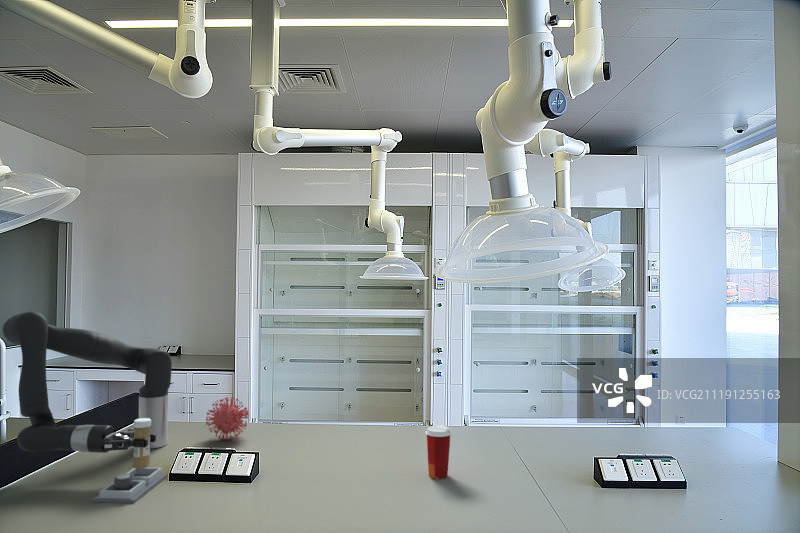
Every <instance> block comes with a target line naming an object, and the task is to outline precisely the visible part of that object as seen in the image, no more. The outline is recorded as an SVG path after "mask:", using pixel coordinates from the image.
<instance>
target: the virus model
mask: <svg viewBox="0 0 800 533" xmlns="http://www.w3.org/2000/svg"><path fill="white" fill-rule="evenodd" d="M234 400H235V402H234ZM229 401H230V403H229ZM219 402H220V403H219ZM238 402H239V403H238ZM237 404H238V405H237ZM211 406H212V409H210V410H209V408H208V410H207V411H208V412H206V415H207V416H206V418H205V421H206V422H205V425H206V426H207V427H209V428H208V431H209V432H210V433H212V432H214V433H215V435H214V436H215V437H216V438H217V439H220V440H228V439H227V438H228V436H229V440H232V439H233V435H231V434H232V433H234V436H235V437H236V438H237V437H238V436H239V435H241V433H244V430H246V428H247V426H248V424H247V423H248V421H247V420H248V419H249V416H250V415H249V410H248V408H247V406H245V407H244V404H243V402H242V401H240V400H239V399H238V398H236V399H235V397H230V399H229V397H227V396H226V397H224V398H222V399H218V400H216V401H214V402H213V403H212V405H211ZM243 407H244V408H243ZM241 408H243V409H241ZM243 419H246V421H245V420H243ZM212 425H213V426H212ZM210 426H212V427H210ZM243 429H244V430H243ZM219 432H220V434H219V436H218V433H219ZM225 438H226V439H225Z"/></svg>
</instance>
